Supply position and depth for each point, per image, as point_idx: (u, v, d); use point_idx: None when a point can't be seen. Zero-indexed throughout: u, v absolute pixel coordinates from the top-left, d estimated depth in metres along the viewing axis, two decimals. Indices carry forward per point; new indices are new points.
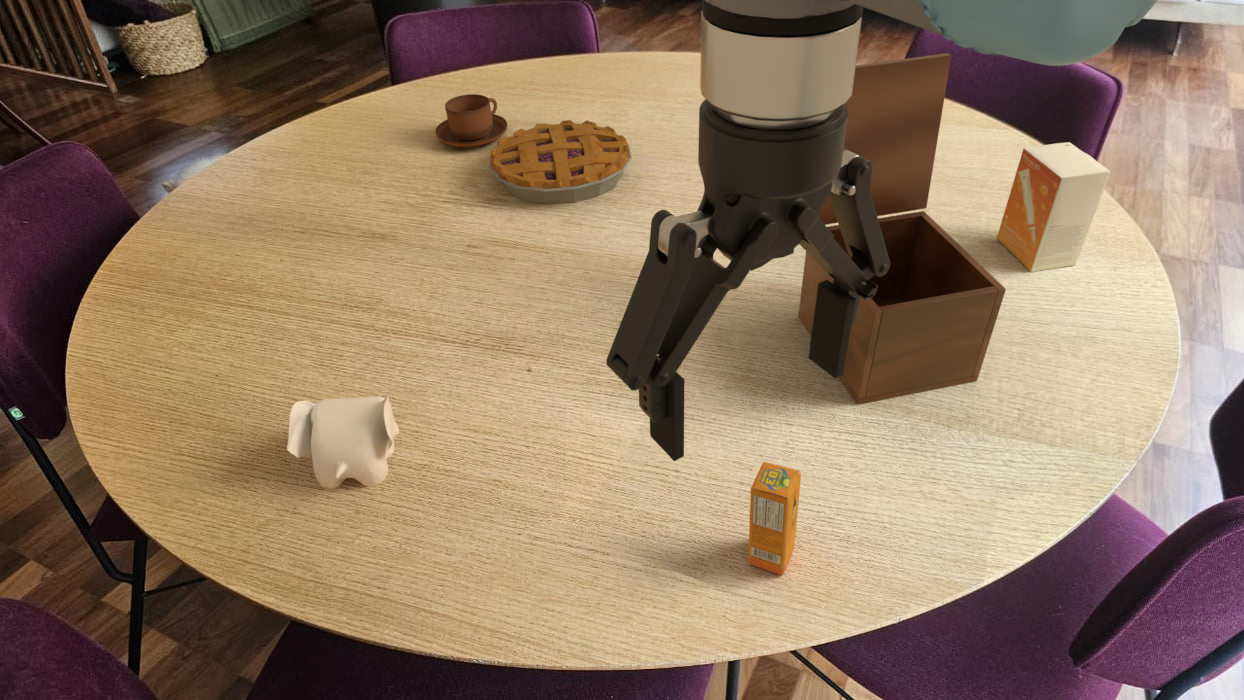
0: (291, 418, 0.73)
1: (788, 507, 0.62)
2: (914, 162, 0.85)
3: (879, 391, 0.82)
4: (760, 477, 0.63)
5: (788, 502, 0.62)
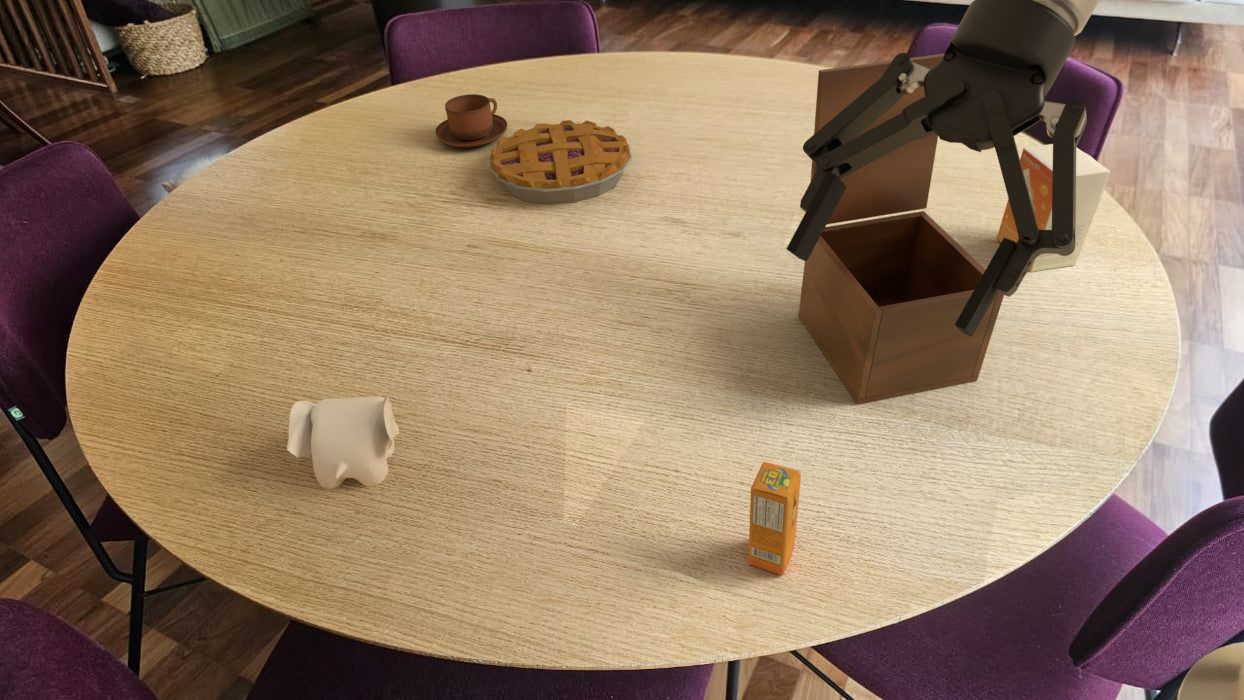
0: (291, 418, 0.73)
1: (788, 507, 0.62)
2: (914, 162, 0.85)
3: (879, 391, 0.82)
4: (760, 477, 0.63)
5: (788, 502, 0.62)
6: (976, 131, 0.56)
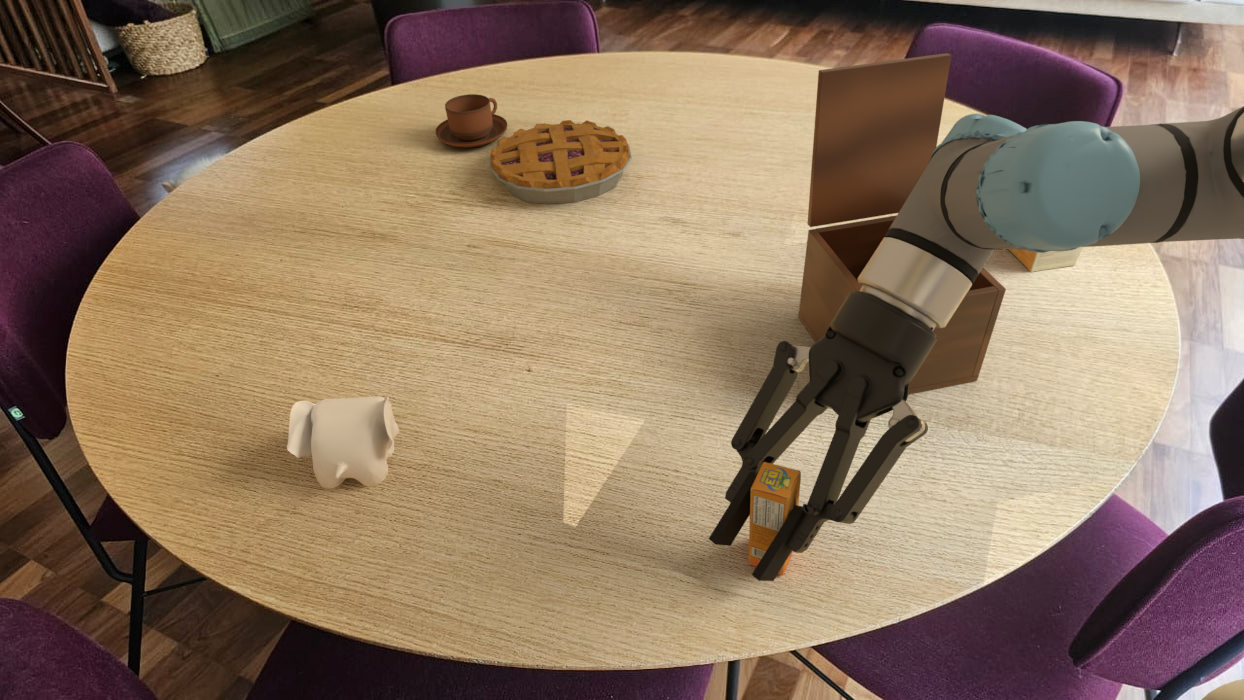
0: (291, 418, 0.73)
1: (788, 507, 0.62)
2: (914, 162, 0.85)
3: None
4: (760, 477, 0.63)
5: (788, 502, 0.62)
6: None
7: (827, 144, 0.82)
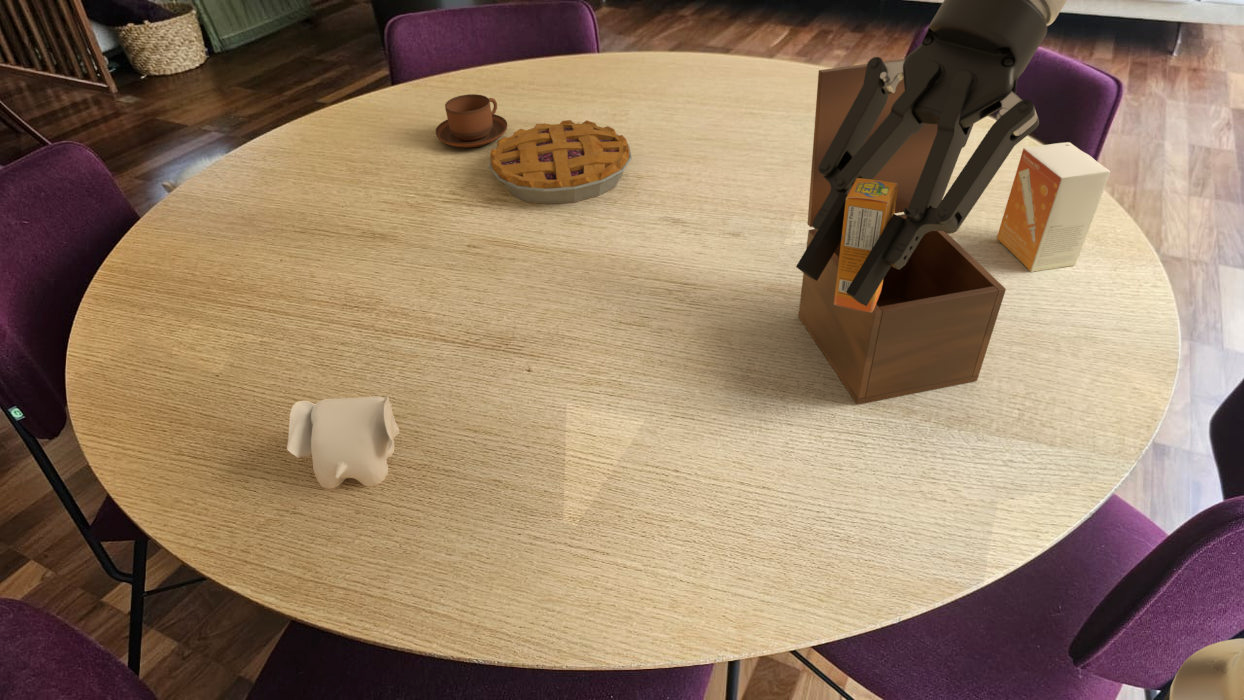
0: (291, 418, 0.73)
1: (887, 216, 0.58)
2: (914, 162, 0.85)
3: (879, 391, 0.82)
4: (855, 188, 0.59)
5: (887, 208, 0.58)
6: None
7: (827, 144, 0.82)
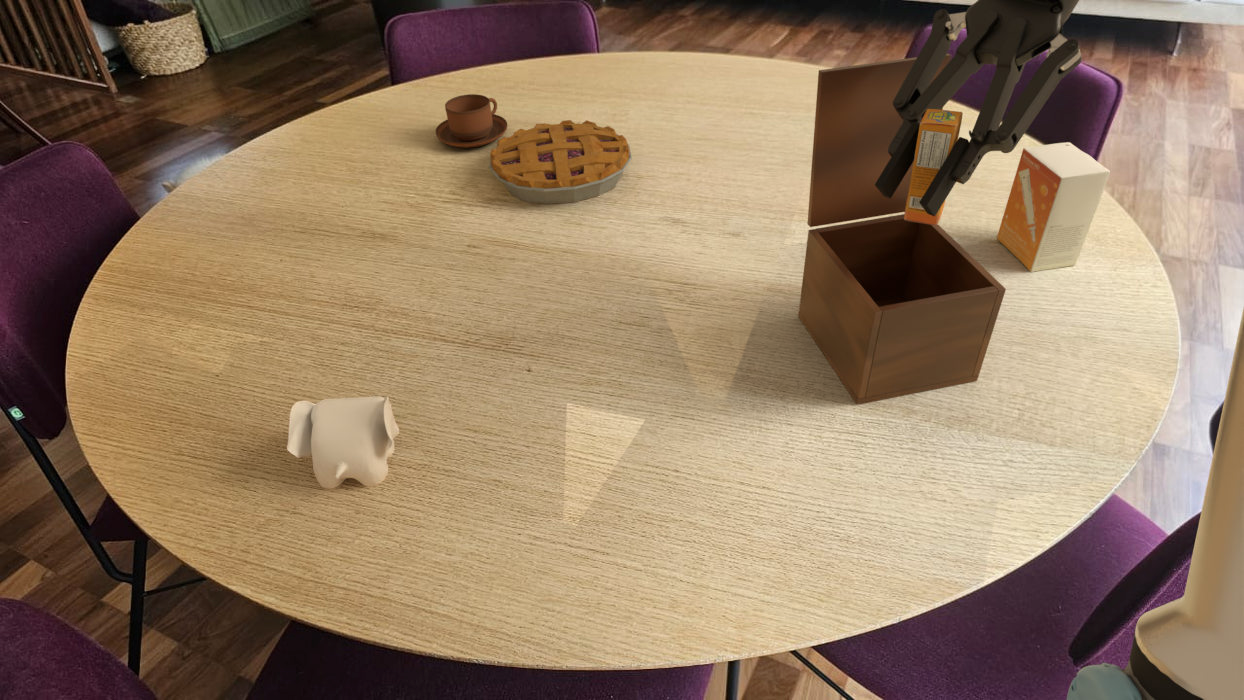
0: (291, 418, 0.73)
1: (954, 138, 0.70)
2: None
3: (879, 391, 0.82)
4: (927, 116, 0.71)
5: (955, 131, 0.69)
6: None
7: (827, 144, 0.82)
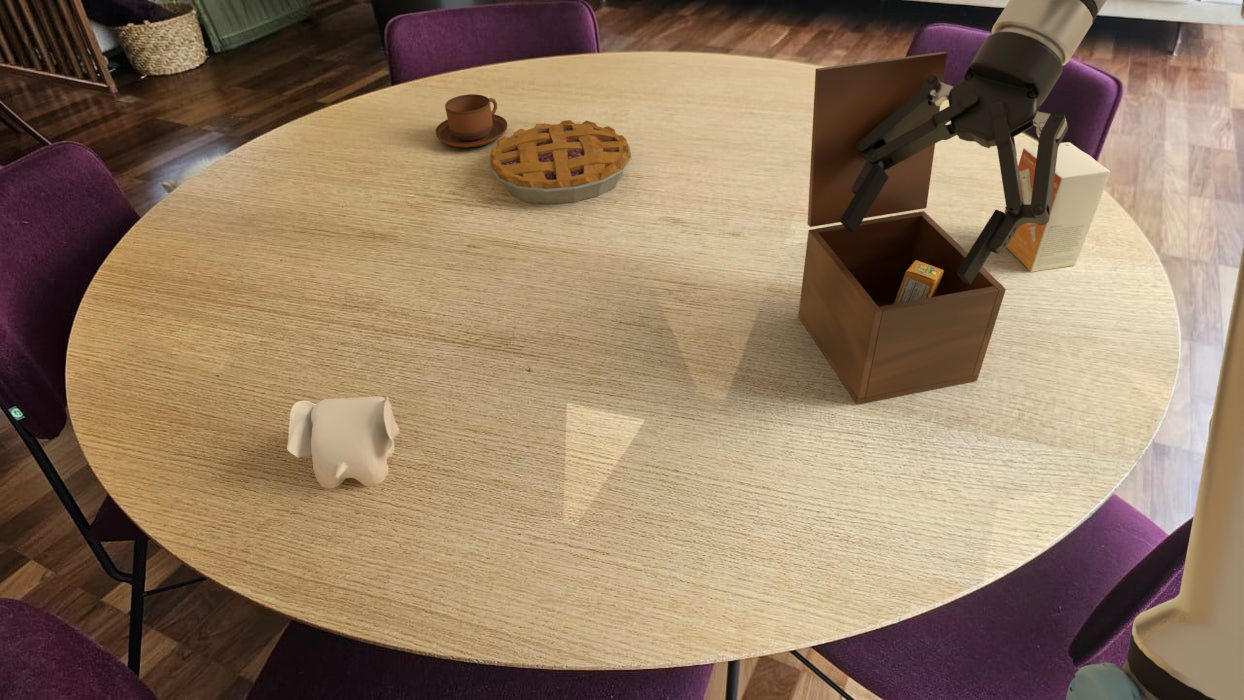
0: (291, 418, 0.73)
1: (932, 290, 0.81)
2: (913, 161, 0.85)
3: (879, 391, 0.82)
4: (913, 266, 0.82)
5: (934, 285, 0.81)
6: (985, 131, 0.75)
7: (826, 143, 0.82)
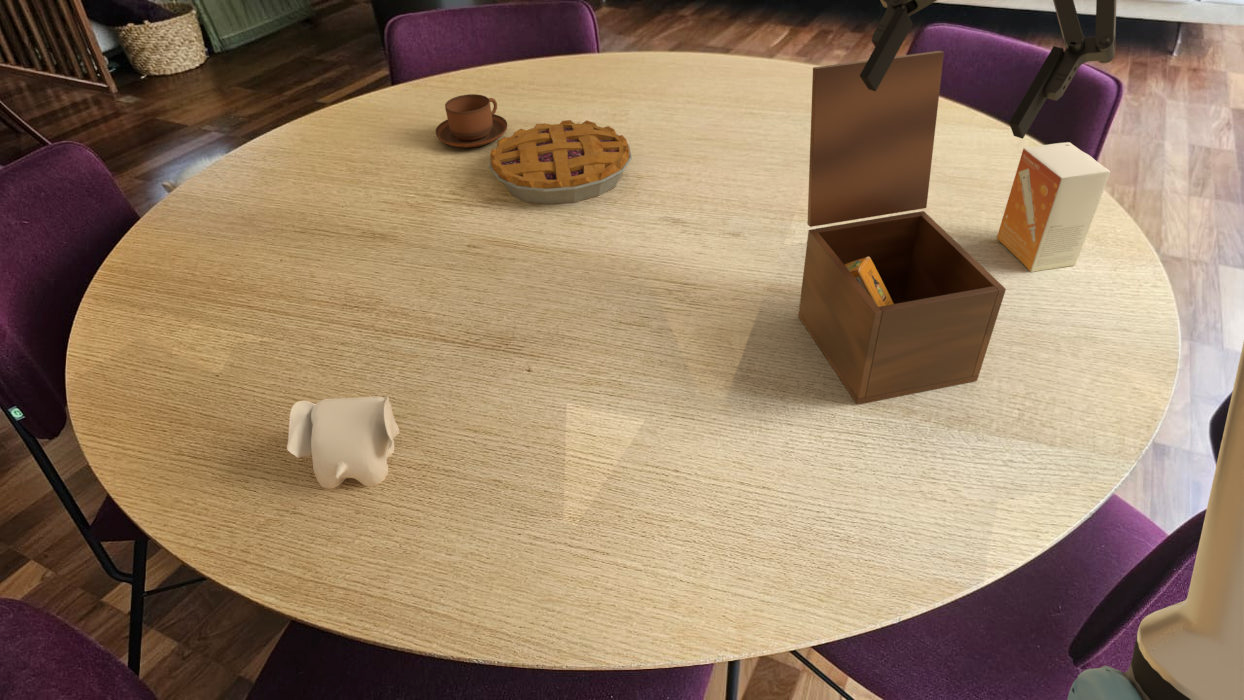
0: (291, 418, 0.73)
1: (864, 278, 0.83)
2: (912, 160, 0.86)
3: (879, 391, 0.82)
4: None
5: (861, 273, 0.83)
6: None
7: (824, 142, 0.82)
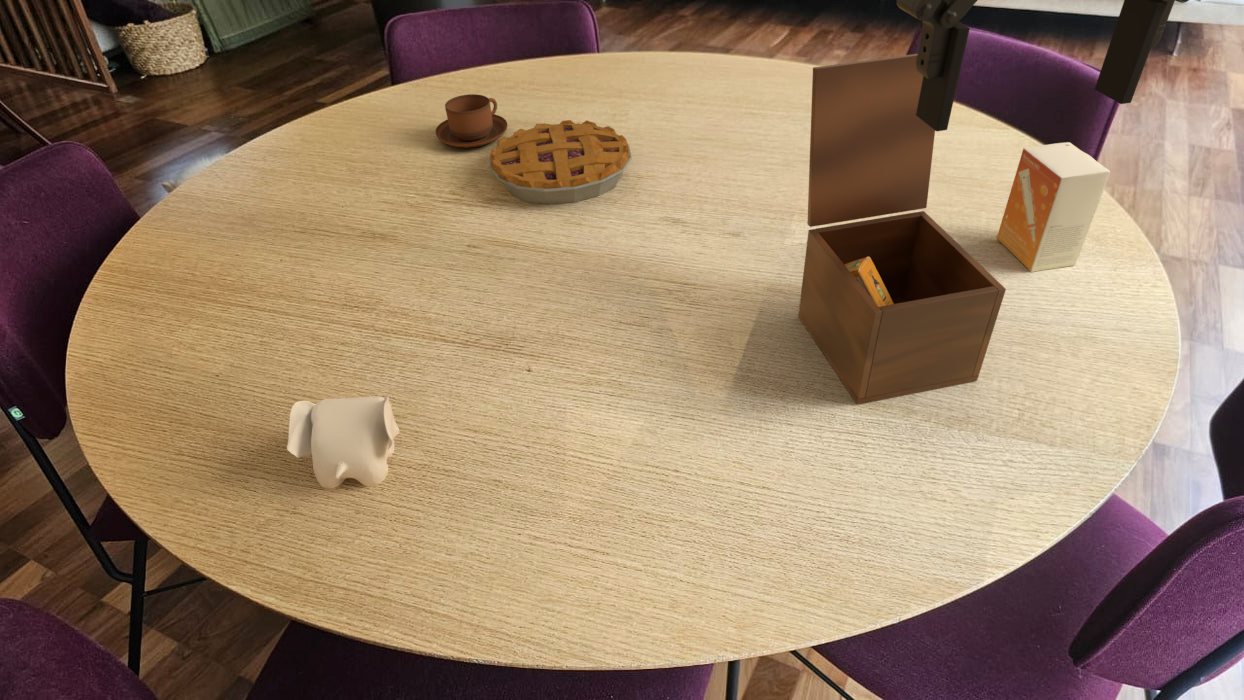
0: (291, 418, 0.73)
1: (864, 278, 0.83)
2: (912, 160, 0.86)
3: (879, 391, 0.82)
4: None
5: (861, 273, 0.83)
6: None
7: (824, 142, 0.82)
